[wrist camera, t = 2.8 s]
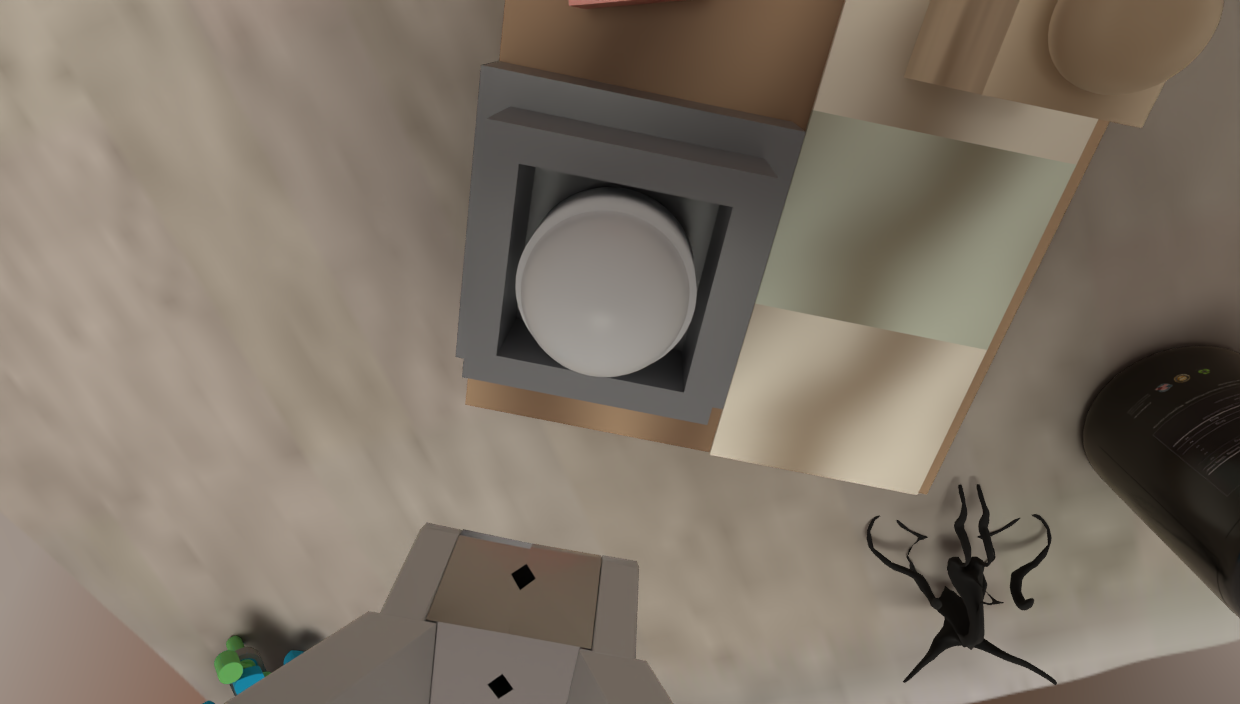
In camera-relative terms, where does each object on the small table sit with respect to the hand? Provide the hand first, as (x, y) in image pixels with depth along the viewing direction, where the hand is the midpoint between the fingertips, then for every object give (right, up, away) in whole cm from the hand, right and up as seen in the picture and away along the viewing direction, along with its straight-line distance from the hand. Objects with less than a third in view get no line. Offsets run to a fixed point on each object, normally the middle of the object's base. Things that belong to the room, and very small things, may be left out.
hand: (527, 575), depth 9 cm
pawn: (+13, +13, +11) cm, 22 cm away
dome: (+1, +6, +12) cm, 13 cm away
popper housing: (+1, +8, +16) cm, 18 cm away
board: (+7, +9, +15) cm, 18 cm away
